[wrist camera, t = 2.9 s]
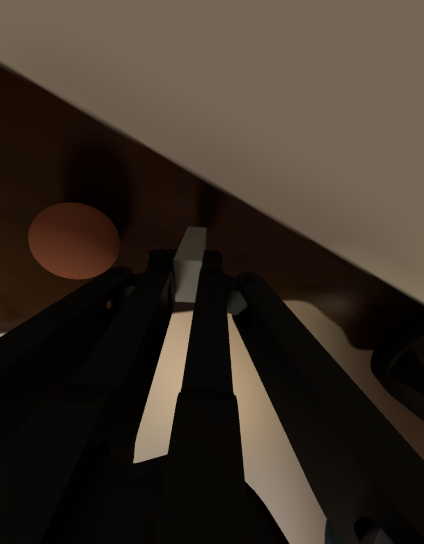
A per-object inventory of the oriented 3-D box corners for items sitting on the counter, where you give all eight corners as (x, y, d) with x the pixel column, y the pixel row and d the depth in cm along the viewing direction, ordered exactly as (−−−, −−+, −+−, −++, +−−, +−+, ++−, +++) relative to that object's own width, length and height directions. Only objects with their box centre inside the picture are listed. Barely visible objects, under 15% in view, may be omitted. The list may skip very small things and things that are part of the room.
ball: (143, 237, 19) (115, 264, 14) (103, 271, 21) (64, 306, 15) (91, 182, 17) (34, 189, 11) (51, 224, 19) (-15, 248, 13)
